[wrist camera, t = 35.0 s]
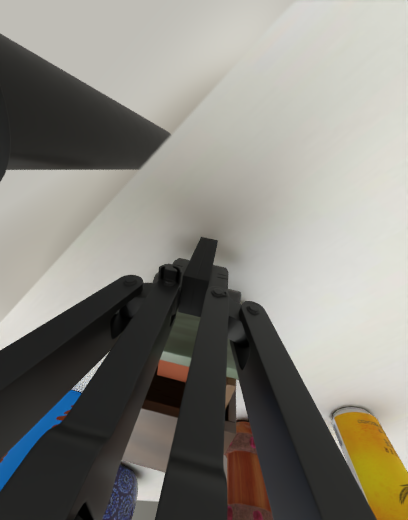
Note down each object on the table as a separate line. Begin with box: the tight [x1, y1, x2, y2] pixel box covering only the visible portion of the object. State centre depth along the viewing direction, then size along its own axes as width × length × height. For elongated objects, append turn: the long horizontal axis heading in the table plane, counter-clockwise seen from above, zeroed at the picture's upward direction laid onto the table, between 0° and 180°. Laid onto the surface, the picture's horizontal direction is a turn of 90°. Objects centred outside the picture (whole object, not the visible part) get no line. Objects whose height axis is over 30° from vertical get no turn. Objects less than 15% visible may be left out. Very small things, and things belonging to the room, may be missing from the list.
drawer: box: [145, 273, 241, 410], centre depth 20 cm, size 18×11×8 cm, turn 170°
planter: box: [102, 464, 138, 520], centre depth 48 cm, size 17×17×15 cm
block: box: [157, 360, 189, 382], centre depth 21 cm, size 4×4×4 cm
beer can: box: [332, 407, 408, 520], centre depth 22 cm, size 6×6×15 cm
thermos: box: [0, 390, 81, 491], centre depth 29 cm, size 11×11×25 cm
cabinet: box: [122, 388, 236, 473], centre depth 24 cm, size 15×13×10 cm
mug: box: [224, 421, 273, 520], centre depth 27 cm, size 15×8×15 cm, turn 117°
